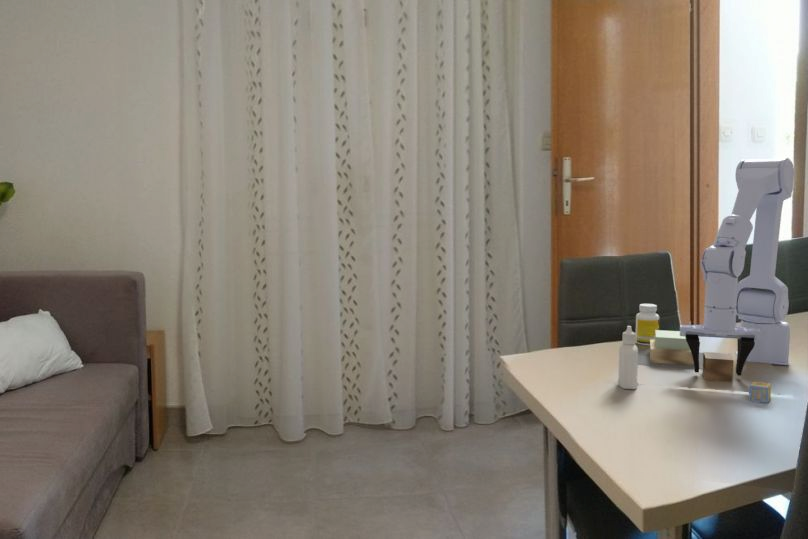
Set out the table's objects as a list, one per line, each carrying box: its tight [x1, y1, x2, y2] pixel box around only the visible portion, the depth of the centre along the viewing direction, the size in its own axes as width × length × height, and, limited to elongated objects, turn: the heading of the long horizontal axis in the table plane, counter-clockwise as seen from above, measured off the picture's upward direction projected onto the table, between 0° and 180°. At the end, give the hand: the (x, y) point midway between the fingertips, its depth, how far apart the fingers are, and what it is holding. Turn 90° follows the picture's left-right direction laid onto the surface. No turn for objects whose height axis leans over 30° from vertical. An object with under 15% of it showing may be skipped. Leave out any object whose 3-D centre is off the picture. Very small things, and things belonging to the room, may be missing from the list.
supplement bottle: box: [634, 303, 660, 346], centre depth 161 cm, size 5×5×10 cm
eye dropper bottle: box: [617, 325, 639, 390], centre depth 129 cm, size 4×6×12 cm
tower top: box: [655, 329, 690, 350], centre depth 146 cm, size 7×7×2 cm
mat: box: [638, 348, 703, 370], centre depth 147 cm, size 16×14×1 cm
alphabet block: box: [749, 381, 772, 404], centre depth 121 cm, size 3×3×3 cm
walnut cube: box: [702, 351, 734, 383], centre depth 133 cm, size 5×5×5 cm
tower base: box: [649, 339, 694, 365], centre depth 147 cm, size 9×9×3 cm
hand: (717, 372), depth 133 cm, fingers open, 7 cm apart
